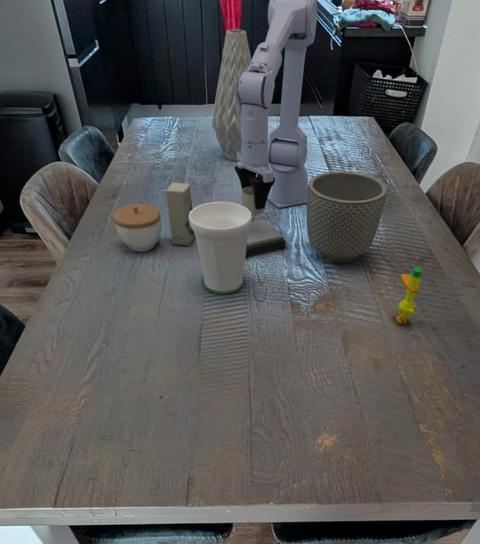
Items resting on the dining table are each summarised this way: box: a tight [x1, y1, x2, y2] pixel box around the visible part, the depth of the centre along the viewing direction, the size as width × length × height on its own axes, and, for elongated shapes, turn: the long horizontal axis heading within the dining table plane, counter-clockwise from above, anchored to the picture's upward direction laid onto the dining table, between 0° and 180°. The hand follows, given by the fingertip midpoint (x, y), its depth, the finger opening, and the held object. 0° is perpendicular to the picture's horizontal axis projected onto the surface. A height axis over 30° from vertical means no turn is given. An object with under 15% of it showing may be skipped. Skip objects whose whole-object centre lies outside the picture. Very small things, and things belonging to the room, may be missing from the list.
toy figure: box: [395, 266, 423, 325], centre depth 92 cm, size 7×4×12 cm, turn 13°
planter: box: [306, 170, 388, 264], centre depth 108 cm, size 17×17×16 cm
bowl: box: [241, 186, 267, 216], centre depth 112 cm, size 6×6×5 cm
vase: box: [211, 28, 252, 162], centre depth 146 cm, size 17×17×33 cm
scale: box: [245, 218, 287, 259], centre depth 116 cm, size 12×12×3 cm
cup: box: [189, 201, 252, 294], centre depth 99 cm, size 12×12×15 cm
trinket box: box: [112, 203, 162, 252], centre depth 112 cm, size 11×11×9 cm
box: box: [165, 182, 196, 246], centre depth 112 cm, size 5×4×13 cm
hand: (254, 203), depth 112 cm, fingers closed on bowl, 6 cm apart
